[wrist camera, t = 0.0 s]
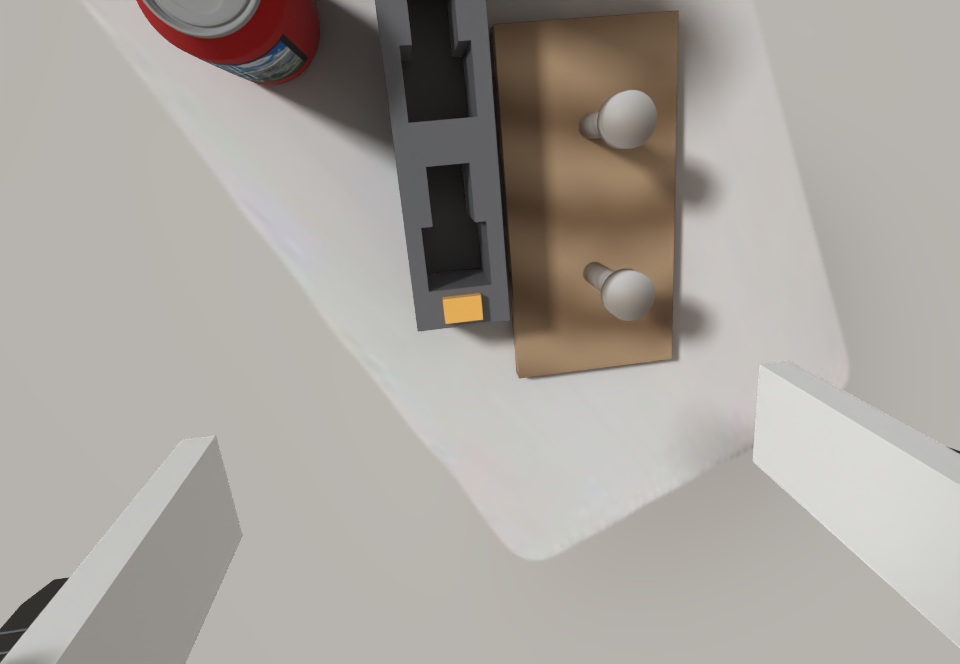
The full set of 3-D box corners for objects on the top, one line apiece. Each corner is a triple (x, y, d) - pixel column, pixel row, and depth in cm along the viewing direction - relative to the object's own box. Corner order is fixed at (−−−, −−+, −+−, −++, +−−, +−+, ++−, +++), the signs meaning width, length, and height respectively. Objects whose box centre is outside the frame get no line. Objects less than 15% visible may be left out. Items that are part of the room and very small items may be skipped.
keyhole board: (491, 28, 36) (513, -8, 28) (670, 14, 37) (742, -24, 29) (516, 372, 43) (540, 422, 35) (664, 353, 44) (721, 397, 36)
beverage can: (199, 65, 35) (96, 21, 23) (219, -54, 33) (118, -164, 22) (309, 101, 36) (261, 77, 25) (333, -11, 34) (294, -93, 23)
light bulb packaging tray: (372, -36, 34) (364, -75, 28) (470, -43, 35) (481, -82, 29) (417, 308, 41) (418, 334, 35) (497, 299, 41) (511, 323, 36)
